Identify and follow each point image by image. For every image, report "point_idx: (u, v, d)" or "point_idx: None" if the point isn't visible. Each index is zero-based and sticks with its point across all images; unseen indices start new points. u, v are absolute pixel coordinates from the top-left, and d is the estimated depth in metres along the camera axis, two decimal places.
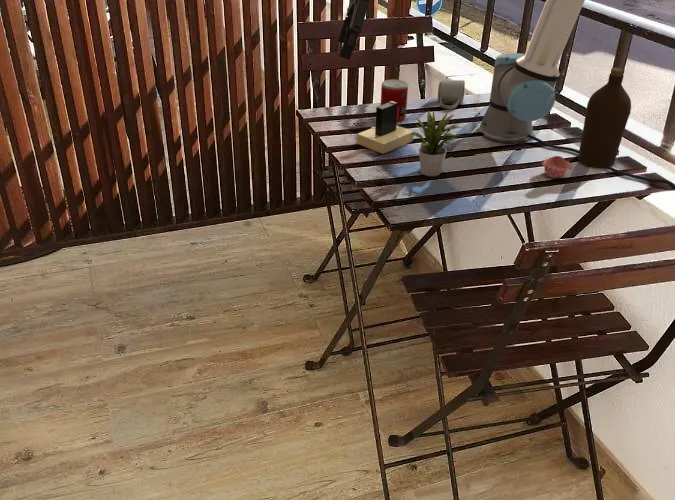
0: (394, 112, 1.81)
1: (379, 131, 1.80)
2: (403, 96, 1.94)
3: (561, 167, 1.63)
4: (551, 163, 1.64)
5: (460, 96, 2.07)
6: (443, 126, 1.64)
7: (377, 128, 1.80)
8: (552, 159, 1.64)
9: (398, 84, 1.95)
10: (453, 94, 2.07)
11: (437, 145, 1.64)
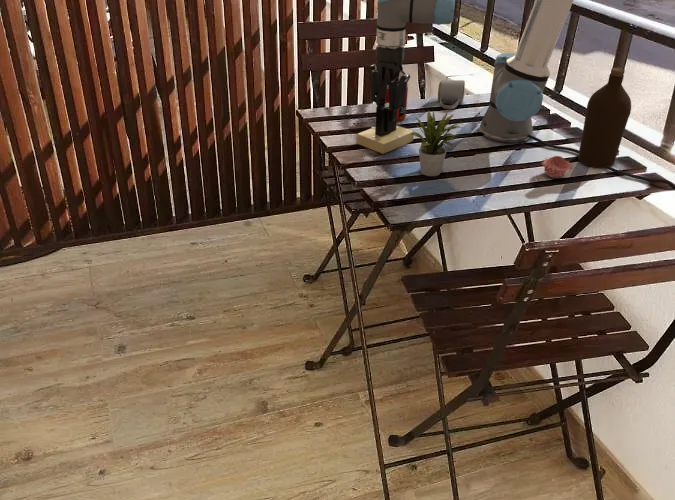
0: None
1: (379, 131, 1.80)
2: None
3: (561, 167, 1.63)
4: (551, 163, 1.64)
5: (460, 96, 2.07)
6: (443, 126, 1.64)
7: (377, 128, 1.80)
8: (552, 159, 1.64)
9: None
10: (453, 94, 2.07)
11: (437, 145, 1.64)
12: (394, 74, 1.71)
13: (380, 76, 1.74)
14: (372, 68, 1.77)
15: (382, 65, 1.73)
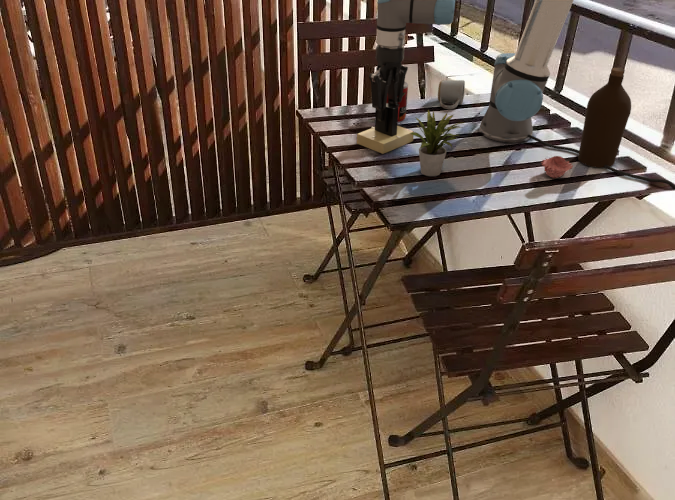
0: None
1: (395, 131, 1.81)
2: (403, 96, 1.94)
3: (561, 167, 1.63)
4: (551, 163, 1.64)
5: (460, 96, 2.07)
6: (443, 126, 1.64)
7: (393, 129, 1.80)
8: (552, 159, 1.64)
9: None
10: (453, 94, 2.07)
11: (437, 145, 1.64)
12: (399, 70, 1.75)
13: (389, 79, 1.73)
14: None
15: (389, 68, 1.72)
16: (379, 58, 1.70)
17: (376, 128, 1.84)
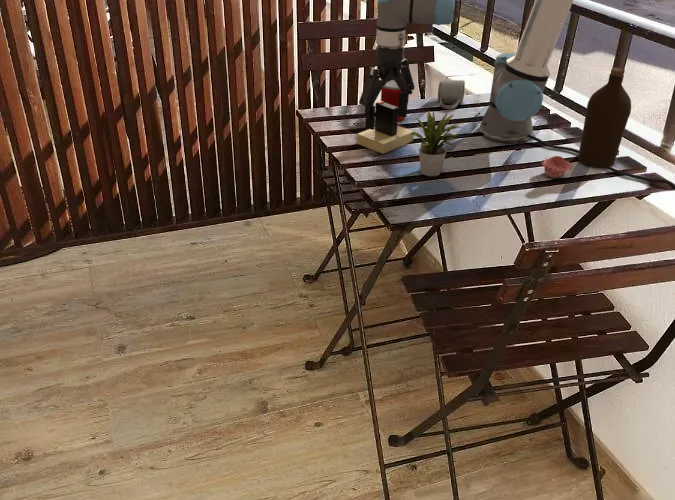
0: None
1: (395, 131, 1.81)
2: None
3: (561, 167, 1.63)
4: (551, 163, 1.64)
5: (460, 96, 2.07)
6: (443, 126, 1.64)
7: (393, 129, 1.80)
8: (552, 159, 1.64)
9: None
10: (453, 94, 2.07)
11: (437, 145, 1.64)
12: (399, 70, 1.75)
13: (387, 78, 1.72)
14: None
15: (389, 68, 1.72)
16: (379, 58, 1.70)
17: (376, 128, 1.84)
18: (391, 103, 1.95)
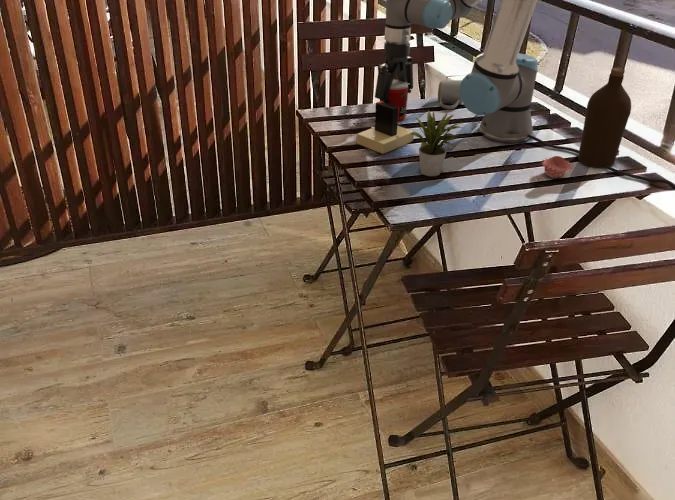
0: None
1: (395, 131, 1.81)
2: (403, 96, 1.94)
3: (561, 167, 1.63)
4: (551, 163, 1.64)
5: None
6: (443, 126, 1.64)
7: (393, 129, 1.80)
8: (552, 159, 1.64)
9: (398, 84, 1.95)
10: (453, 94, 2.07)
11: (437, 145, 1.64)
12: (405, 63, 1.93)
13: (395, 72, 1.91)
14: None
15: (396, 61, 1.90)
16: (387, 53, 1.88)
17: (376, 128, 1.84)
18: (391, 103, 1.95)
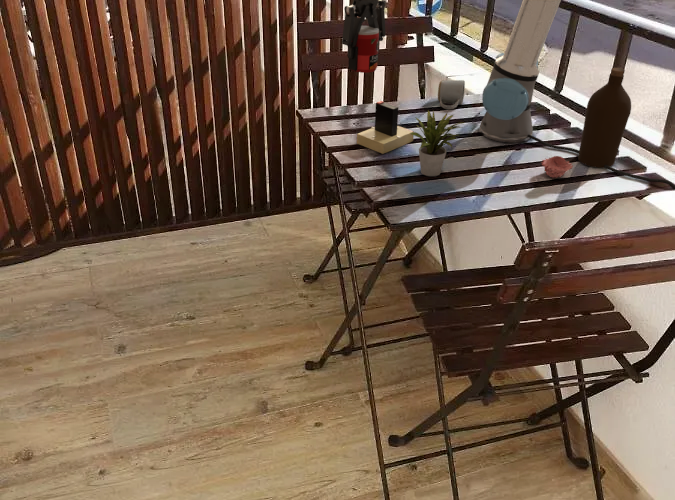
0: None
1: (395, 131, 1.81)
2: (373, 43, 1.76)
3: (561, 167, 1.63)
4: (551, 163, 1.64)
5: (460, 96, 2.07)
6: (443, 126, 1.64)
7: (393, 129, 1.80)
8: (552, 159, 1.64)
9: (368, 30, 1.77)
10: (453, 94, 2.07)
11: (437, 145, 1.64)
12: (375, 6, 1.75)
13: (364, 15, 1.72)
14: None
15: (365, 3, 1.72)
16: None
17: (376, 128, 1.84)
18: (360, 51, 1.76)
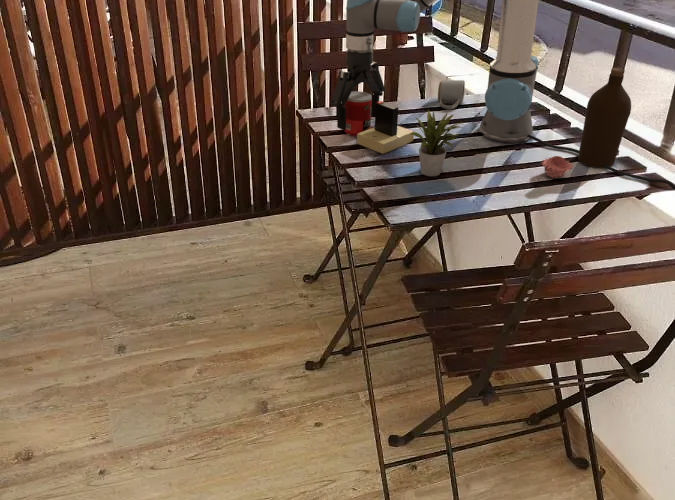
0: None
1: (395, 131, 1.81)
2: (366, 109, 1.85)
3: (561, 167, 1.63)
4: (551, 163, 1.64)
5: (460, 96, 2.07)
6: (443, 126, 1.64)
7: (393, 129, 1.80)
8: (552, 159, 1.64)
9: (361, 96, 1.86)
10: (453, 94, 2.07)
11: (437, 145, 1.64)
12: (368, 72, 1.83)
13: (357, 81, 1.80)
14: None
15: (358, 71, 1.80)
16: (349, 62, 1.78)
17: (376, 128, 1.84)
18: (354, 116, 1.85)
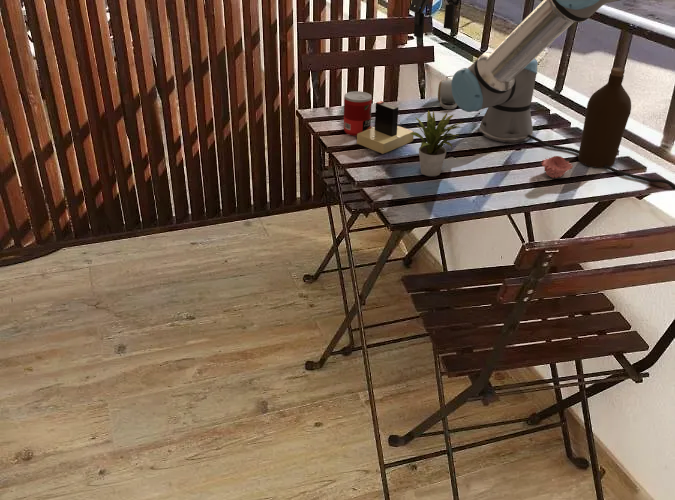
0: None
1: (395, 131, 1.81)
2: (366, 109, 1.85)
3: (561, 167, 1.63)
4: (551, 163, 1.64)
5: None
6: (443, 126, 1.64)
7: (393, 129, 1.80)
8: (552, 159, 1.64)
9: (361, 96, 1.86)
10: None
11: (437, 145, 1.64)
12: None
13: None
14: None
15: None
16: None
17: (376, 128, 1.84)
18: (354, 116, 1.85)
